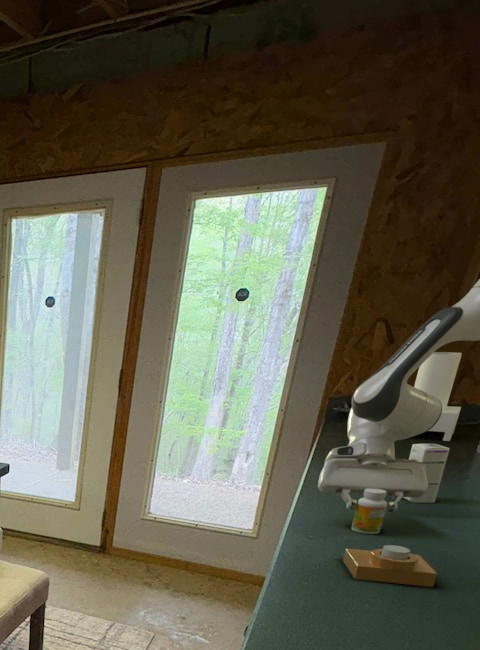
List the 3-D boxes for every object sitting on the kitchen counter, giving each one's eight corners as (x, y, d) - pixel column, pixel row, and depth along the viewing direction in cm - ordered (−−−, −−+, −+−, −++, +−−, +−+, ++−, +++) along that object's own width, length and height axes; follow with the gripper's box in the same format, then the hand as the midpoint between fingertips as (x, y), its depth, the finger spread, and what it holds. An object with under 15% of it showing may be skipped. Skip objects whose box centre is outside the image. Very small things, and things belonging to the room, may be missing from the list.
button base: (414, 569, 123) (421, 546, 122) (433, 590, 115) (441, 565, 113) (342, 563, 128) (347, 540, 126) (354, 582, 119) (360, 557, 117)
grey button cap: (403, 554, 119) (406, 546, 118) (410, 562, 116) (413, 553, 115) (378, 552, 121) (380, 544, 120) (384, 559, 117) (386, 551, 117)
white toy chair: (453, 433, 241) (477, 351, 230) (449, 441, 228) (475, 355, 217) (392, 428, 253) (412, 351, 242) (385, 436, 240) (406, 354, 229)
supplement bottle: (346, 526, 148) (356, 487, 144) (372, 527, 147) (382, 487, 143) (357, 534, 143) (368, 493, 139) (384, 535, 142) (395, 493, 138)
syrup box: (435, 503, 162) (452, 447, 157) (410, 502, 163) (425, 447, 158) (422, 497, 167) (437, 443, 162) (397, 496, 168) (411, 443, 163)
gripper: (419, 467, 146) (422, 519, 141) (316, 463, 154) (315, 512, 149) (431, 452, 140) (435, 506, 136) (324, 448, 148) (323, 499, 144)
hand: (371, 509), depth 142 cm, fingers open, 6 cm apart
